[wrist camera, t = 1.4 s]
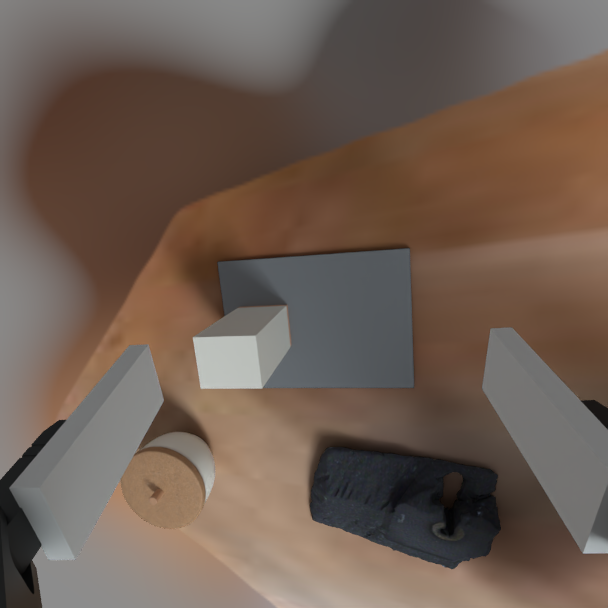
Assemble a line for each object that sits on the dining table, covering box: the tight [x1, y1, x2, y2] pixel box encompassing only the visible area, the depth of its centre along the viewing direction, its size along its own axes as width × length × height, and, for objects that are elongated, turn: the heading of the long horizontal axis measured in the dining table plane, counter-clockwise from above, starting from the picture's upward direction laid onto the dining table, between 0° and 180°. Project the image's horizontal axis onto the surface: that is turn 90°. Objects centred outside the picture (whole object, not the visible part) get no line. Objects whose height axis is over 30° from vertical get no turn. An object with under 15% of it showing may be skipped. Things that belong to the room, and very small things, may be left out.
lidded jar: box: [121, 432, 215, 529], centre depth 50 cm, size 11×11×9 cm
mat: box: [217, 248, 414, 388], centre depth 46 cm, size 16×22×1 cm
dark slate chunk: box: [310, 447, 501, 569], centre depth 48 cm, size 15×22×5 cm
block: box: [193, 305, 292, 388], centre depth 41 cm, size 5×6×12 cm
